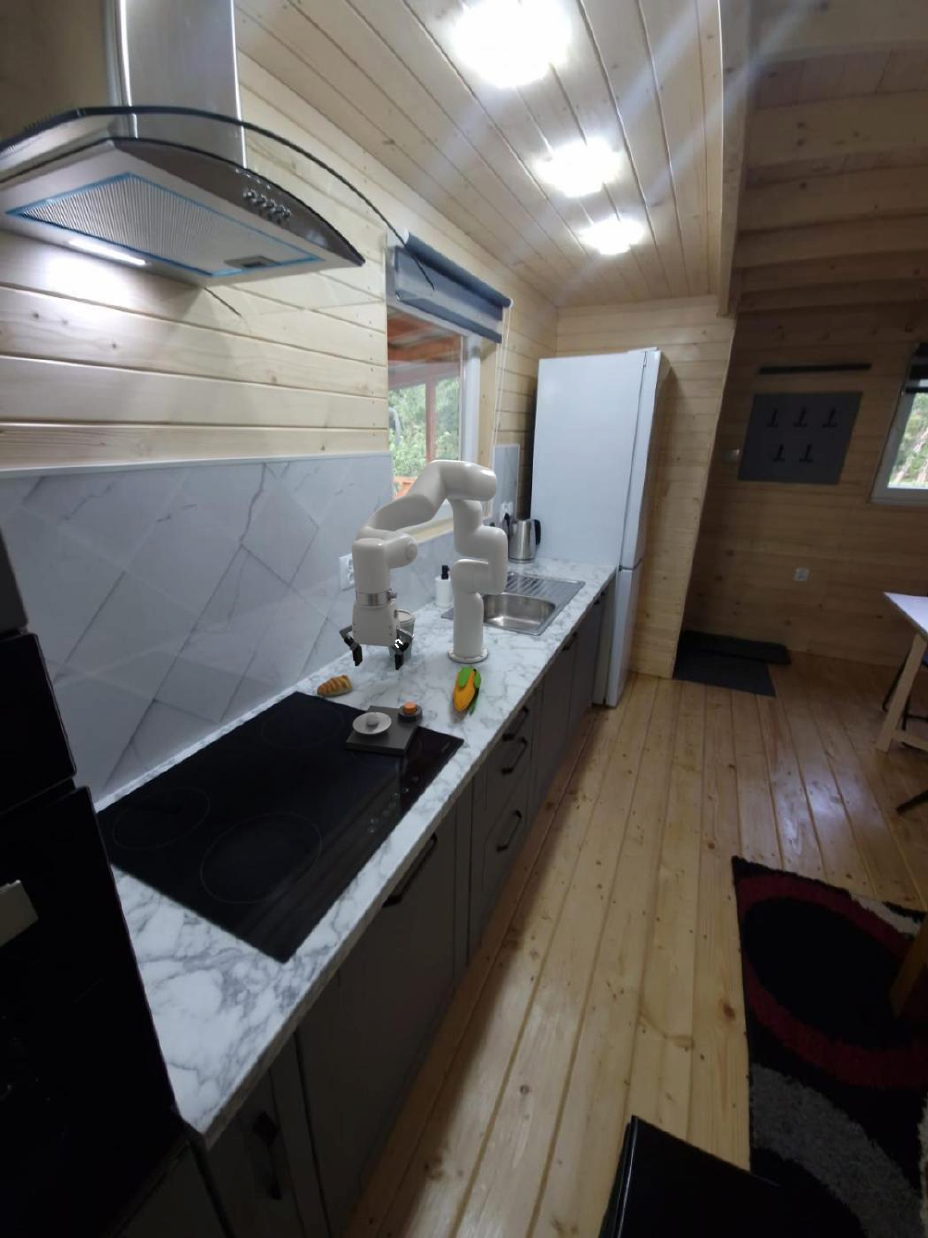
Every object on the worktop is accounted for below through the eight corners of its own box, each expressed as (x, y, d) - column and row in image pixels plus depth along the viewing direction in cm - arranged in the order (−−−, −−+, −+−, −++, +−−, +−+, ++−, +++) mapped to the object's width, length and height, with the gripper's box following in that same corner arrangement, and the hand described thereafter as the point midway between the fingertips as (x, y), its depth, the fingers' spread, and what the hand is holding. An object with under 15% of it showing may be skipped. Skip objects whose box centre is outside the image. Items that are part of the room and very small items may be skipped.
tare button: (406, 707, 125) (405, 701, 125) (417, 708, 125) (417, 702, 124) (402, 713, 123) (402, 707, 122) (414, 715, 122) (414, 708, 122)
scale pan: (361, 712, 122) (361, 710, 122) (396, 716, 121) (396, 714, 121) (346, 733, 114) (346, 731, 114) (384, 738, 113) (383, 735, 112)
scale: (371, 710, 130) (370, 698, 128) (424, 716, 127) (424, 704, 126) (346, 748, 115) (345, 736, 113) (406, 756, 112) (405, 743, 111)
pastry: (323, 701, 133) (321, 689, 132) (313, 691, 138) (311, 679, 137) (354, 690, 139) (353, 678, 137) (344, 681, 144) (342, 669, 142)
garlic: (381, 718, 119) (381, 709, 118) (375, 728, 115) (374, 718, 114) (369, 716, 120) (368, 707, 119) (362, 726, 116) (361, 716, 115)
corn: (482, 659, 140) (474, 695, 122) (483, 683, 143) (476, 722, 125) (456, 659, 141) (445, 695, 123) (458, 682, 144) (447, 721, 126)
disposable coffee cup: (421, 651, 162) (420, 609, 157) (410, 666, 153) (408, 621, 147) (391, 648, 165) (389, 605, 159) (378, 662, 155) (375, 618, 149)
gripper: (416, 592, 109) (419, 661, 116) (343, 587, 112) (349, 655, 119) (406, 605, 102) (410, 677, 109) (328, 599, 105) (336, 670, 112)
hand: (378, 665), depth 114 cm, fingers open, 9 cm apart
